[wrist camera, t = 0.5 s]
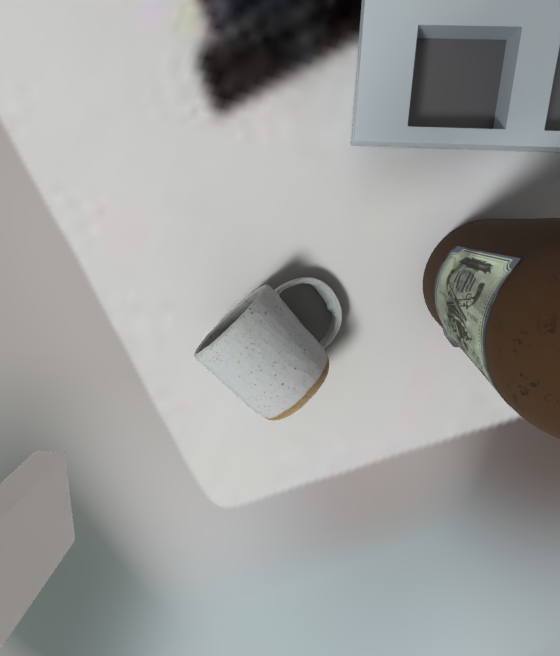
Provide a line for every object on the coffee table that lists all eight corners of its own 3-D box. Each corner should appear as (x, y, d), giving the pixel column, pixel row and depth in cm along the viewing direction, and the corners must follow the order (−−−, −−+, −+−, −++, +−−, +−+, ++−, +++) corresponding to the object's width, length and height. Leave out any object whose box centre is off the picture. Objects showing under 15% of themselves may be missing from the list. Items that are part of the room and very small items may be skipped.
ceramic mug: (271, 401, 39) (264, 446, 31) (204, 336, 37) (180, 366, 30) (363, 321, 36) (379, 349, 29) (295, 248, 35) (293, 258, 28)
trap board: (371, -122, 28) (385, -197, 23) (729, -121, 27) (830, -200, 22) (350, 145, 33) (358, 133, 27) (659, 155, 32) (730, 145, 26)
